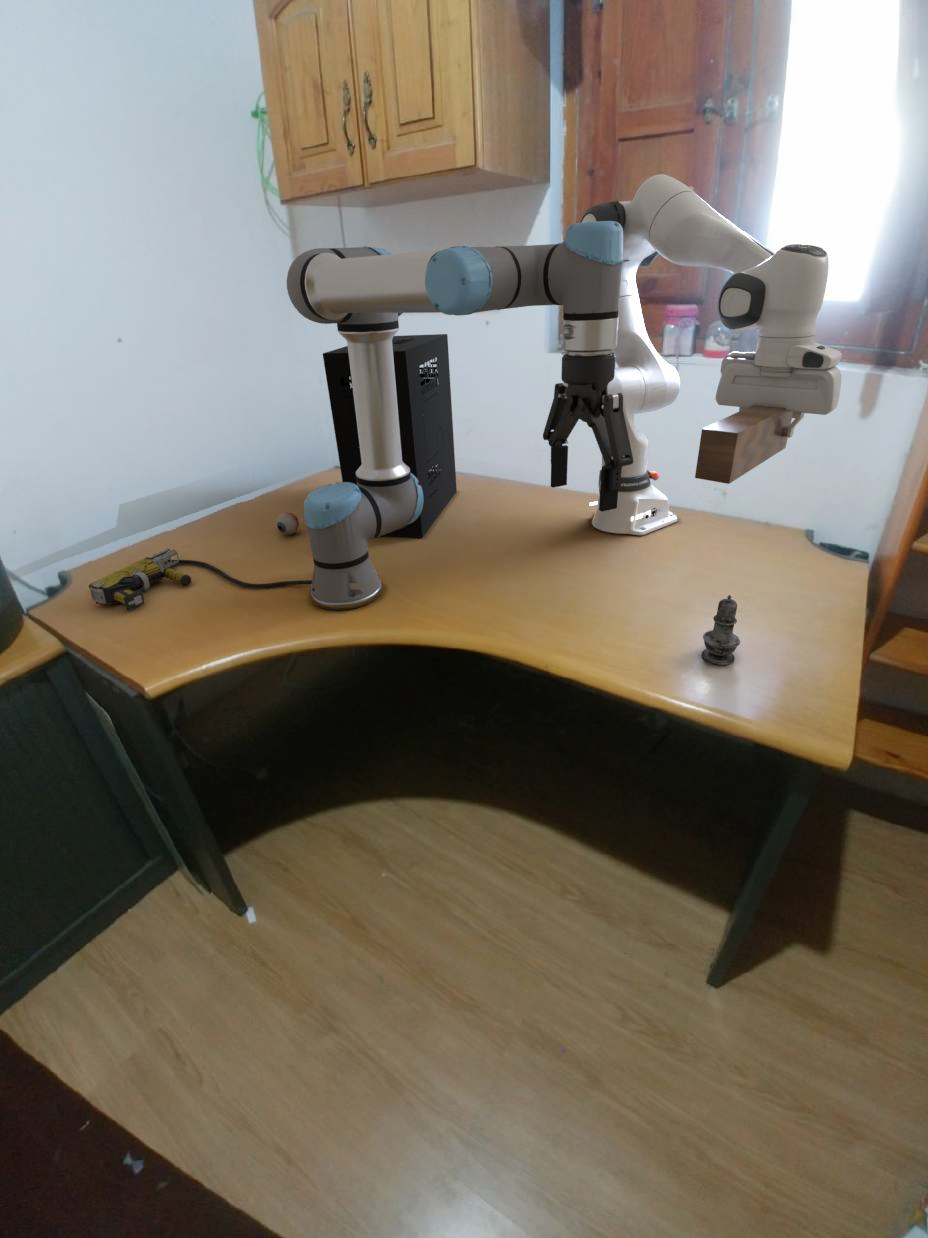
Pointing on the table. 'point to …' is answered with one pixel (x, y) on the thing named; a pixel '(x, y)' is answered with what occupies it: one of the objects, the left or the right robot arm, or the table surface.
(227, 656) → the table surface
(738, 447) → the bar
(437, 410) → the black computer tower
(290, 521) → the eyeball
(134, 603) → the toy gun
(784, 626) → the table surface
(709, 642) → the dark grey tiered figure
